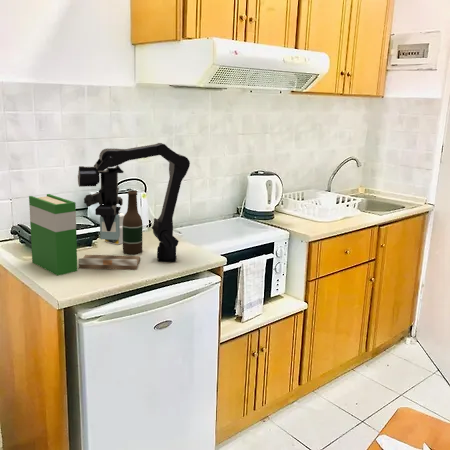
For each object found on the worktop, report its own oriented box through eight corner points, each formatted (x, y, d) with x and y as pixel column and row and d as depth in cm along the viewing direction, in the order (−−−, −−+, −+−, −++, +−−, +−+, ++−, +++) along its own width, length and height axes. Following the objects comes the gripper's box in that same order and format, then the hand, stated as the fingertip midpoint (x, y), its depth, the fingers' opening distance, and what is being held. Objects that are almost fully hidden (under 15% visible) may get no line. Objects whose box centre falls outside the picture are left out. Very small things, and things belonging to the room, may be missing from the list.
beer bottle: (144, 249, 201) (145, 190, 195) (139, 255, 194) (139, 193, 188) (125, 248, 202) (125, 188, 196) (119, 254, 194) (119, 192, 188)
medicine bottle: (104, 242, 209) (104, 213, 206) (116, 238, 215) (115, 210, 212) (118, 245, 206) (118, 216, 203) (129, 241, 212) (129, 213, 209)
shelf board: (140, 260, 189) (140, 251, 188) (136, 270, 178) (136, 260, 177) (85, 258, 187) (85, 249, 187) (78, 268, 176) (78, 259, 176)
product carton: (102, 235, 182) (102, 214, 180) (119, 236, 183) (119, 214, 181) (100, 239, 178) (99, 217, 176) (117, 239, 178) (117, 217, 176)
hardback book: (32, 262, 181) (28, 196, 175) (51, 258, 186) (49, 193, 180) (57, 275, 169) (54, 205, 163) (77, 270, 174) (75, 202, 169)
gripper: (91, 180, 184) (92, 222, 188) (79, 189, 166) (80, 235, 170) (122, 181, 185) (123, 223, 189) (113, 191, 167) (114, 236, 171)
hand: (110, 229), depth 180 cm, fingers closed on product carton, 5 cm apart
